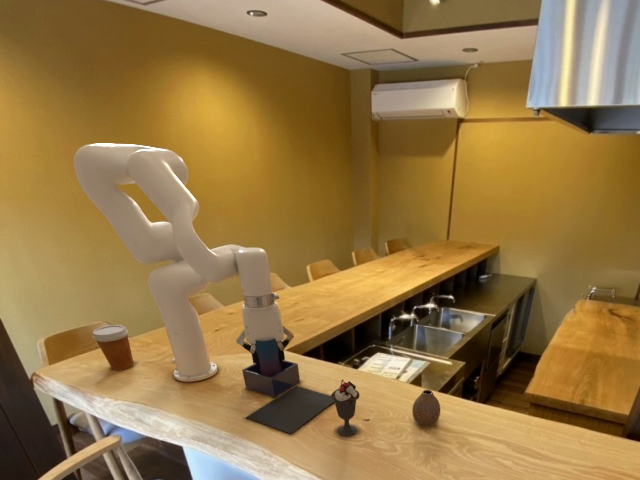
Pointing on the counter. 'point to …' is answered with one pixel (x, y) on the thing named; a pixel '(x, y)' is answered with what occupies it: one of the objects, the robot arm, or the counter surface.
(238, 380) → the counter surface
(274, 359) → the cup
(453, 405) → the counter surface
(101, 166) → the robot arm
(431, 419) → the vase
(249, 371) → the holder
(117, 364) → the disposable coffee cup
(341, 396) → the sundae
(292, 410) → the mat
